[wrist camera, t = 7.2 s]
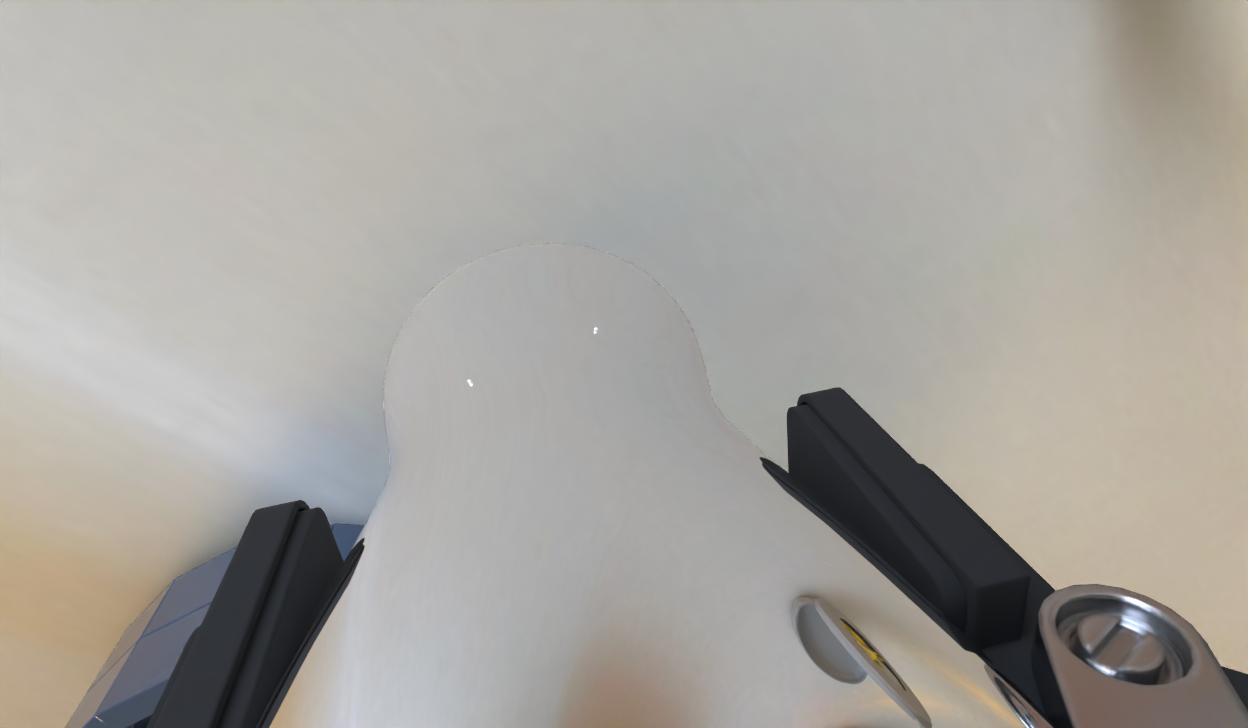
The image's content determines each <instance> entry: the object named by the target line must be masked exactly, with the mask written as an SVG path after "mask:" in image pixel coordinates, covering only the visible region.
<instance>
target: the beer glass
mask: <svg viewBox="0 0 1248 728" xmlns="http://www.w3.org/2000/svg"><path fill="white" fill-rule="evenodd" d="M383 413H384V423H385V431H386V438H387V444H388V451H389V460H390V464H389V471H388V475H387V479H386V482H385V485H384V488H383V491H382V493H381V495H380V497H379V499H378V501H377V503H376V505H375V506H374V508H373V510H372V512H371V514H370V516H369V518H368V520H367V522H366V524H365V526H364V528H363V530H362V531H361V533H360V535H359V537H358V538H357V540H356V542H355V544H354V545H353V547H352V549H351V551H350V552H349V554H348V556H347V558H346V560H345V561H344V563H343V565H342V567H341V568H340V570H339V572H338V574H337V575H336V577H335V579H334V581H333V582H332V584H331V586H330V588H329V590H328V591H327V593H326V595H325V597H324V599H323V600H322V602H321V604H320V606H319V608H318V610H317V611H316V613H315V615H314V617H313V619H312V621H311V623H310V624H309V626H308V628H307V630H306V632H305V634H304V635H303V637H302V639H301V641H300V643H299V645H298V647H297V648H296V650H295V652H294V654H293V656H292V658H291V659H290V661H289V663H288V665H287V667H286V669H285V671H284V672H283V674H282V676H281V678H280V680H279V682H278V683H277V685H276V687H275V689H274V691H273V693H272V695H271V696H270V698H269V700H268V702H267V704H266V706H265V707H264V709H263V711H262V713H261V715H260V717H259V719H258V721H257V723H256V725H255V727H254V728H1056V727H1055V726H1054V725H1053V724H1052V723H1051V722H1050V720H1049V719H1048V718H1047V717H1046V716H1045V715H1044V713H1043V712H1042V711H1041V710H1040V709H1039V708H1038V707H1037V705H1036V704H1035V703H1034V702H1033V701H1032V700H1031V699H1030V698H1029V697H1028V696H1027V695H1026V694H1025V693H1024V692H1023V691H1022V690H1021V689H1020V688H1019V687H1018V686H1017V685H1016V684H1015V683H1014V682H1013V681H1012V680H1011V679H1010V678H1009V677H1008V676H1007V675H1006V674H1005V673H1004V672H1003V671H1002V670H1001V669H1000V668H999V667H998V666H997V665H996V664H995V663H994V662H993V661H992V660H991V659H990V658H989V657H988V656H987V655H986V654H985V653H984V652H982V651H981V650H980V649H979V648H978V647H977V646H976V645H975V644H974V643H973V642H972V641H971V640H970V639H969V638H968V637H967V636H966V635H965V634H964V633H963V632H962V631H961V630H960V629H959V628H958V627H957V626H956V625H955V624H954V623H953V622H952V621H951V620H950V619H949V618H948V617H947V616H946V615H945V614H944V613H943V612H942V611H941V610H940V609H939V608H938V607H937V606H936V605H934V604H933V603H932V602H931V601H930V600H929V599H928V598H927V597H926V596H925V595H924V594H923V593H922V592H921V591H920V590H919V589H918V588H917V587H916V586H915V585H914V584H913V583H912V582H911V581H910V580H909V579H908V578H907V577H906V576H905V575H904V574H903V573H902V572H901V571H900V570H899V569H897V568H896V567H895V566H894V565H893V564H892V563H891V562H890V561H889V560H887V559H886V558H885V557H884V556H883V555H882V554H881V553H879V552H878V551H877V550H876V549H875V548H874V547H873V546H871V545H870V544H869V543H868V542H867V541H866V540H865V539H863V538H862V537H861V536H860V535H859V534H858V533H857V532H855V531H854V530H853V529H852V528H851V527H850V526H849V525H847V524H846V523H845V522H844V521H843V520H842V519H841V518H840V517H838V516H837V515H836V514H835V513H834V512H833V511H832V510H830V509H829V508H828V507H827V506H826V505H825V504H824V503H822V502H821V501H820V500H819V499H818V498H817V497H816V496H814V495H813V494H812V493H811V492H810V491H809V490H808V489H806V488H805V487H804V486H803V485H802V484H800V483H799V482H798V481H797V480H796V479H795V478H793V477H792V476H791V475H790V474H789V473H787V472H786V471H785V470H784V469H783V468H782V467H780V466H779V465H778V464H777V463H776V462H775V461H773V460H772V459H771V458H770V457H769V456H767V455H766V454H765V453H764V452H763V451H762V450H760V449H759V448H758V447H757V446H756V445H754V444H753V443H752V442H751V441H750V440H749V439H748V438H747V437H746V436H745V435H744V434H743V433H742V432H741V431H739V430H738V429H737V428H736V427H735V426H734V425H733V424H732V423H731V422H730V421H729V420H728V419H727V418H726V417H725V416H724V414H723V413H722V412H721V411H720V409H719V408H718V407H717V405H716V403H715V401H714V399H713V396H712V393H711V389H710V385H709V380H708V376H707V371H706V367H705V363H704V359H703V355H702V352H701V349H700V346H699V343H698V340H697V338H696V335H695V333H694V330H693V328H692V326H691V324H690V322H689V321H688V319H687V317H686V315H685V314H684V312H683V310H682V309H681V307H680V306H679V305H678V303H677V302H676V301H675V299H674V298H673V297H672V296H671V295H670V293H669V292H668V291H667V290H666V289H665V288H664V287H663V286H662V285H661V284H660V283H659V282H657V281H656V280H655V279H654V278H653V277H651V276H650V275H649V274H648V273H646V272H645V271H643V270H642V269H640V268H639V267H637V266H635V265H634V264H632V263H630V262H628V261H626V260H624V259H622V258H620V257H617V256H615V255H613V254H610V253H607V252H604V251H601V250H598V249H595V248H591V247H586V246H582V245H575V244H567V243H533V244H525V245H519V246H513V247H509V248H505V249H501V250H498V251H495V252H492V253H489V254H486V255H484V256H481V257H479V258H477V259H475V260H472V261H470V262H468V263H466V264H465V265H463V266H461V267H460V268H458V269H456V270H455V271H453V272H452V273H450V274H449V275H447V276H446V277H445V278H443V279H442V280H441V281H440V282H438V283H437V284H436V285H435V286H434V287H433V288H432V289H431V290H430V291H429V292H428V293H427V294H426V295H425V296H424V297H423V298H422V299H421V300H420V302H419V303H418V304H417V305H416V306H415V308H414V309H413V310H412V312H411V313H410V315H409V316H408V318H407V319H406V321H405V322H404V324H403V326H402V327H401V329H400V331H399V333H398V335H397V337H396V339H395V341H394V343H393V346H392V348H391V351H390V354H389V357H388V361H387V365H386V371H385V377H384V384H383Z"/></svg>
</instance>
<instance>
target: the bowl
mask: <svg viewBox="0 0 1248 728" xmlns="http://www.w3.org/2000/svg"><path fill="white" fill-rule="evenodd" d="M364 526H365V525H351V524H335V525H330V528H331V530H332V533H333V535H334V538H335V540H336V543H337V546H338V548H339V551H340V553H341V556H342V558H343V561H345V560H346V558H347V556H348V554H349V552H350V551H351V549H352V547H353V545H354V544H355V542H356V540H357V538H358V537H359V535H360V533H361V531H362V530H363V528H364ZM236 549H237V547H236V548H234V549H232V550H230V551H228V552H226V553H224V554H222V555H220V556H218V557H217V558H215V559H213V560H211V561H209V562H207V563H205V564H203V565H201V566H199V567H197V568H195V569H193V570H191V571H189V572H187V573H185V574H183V575H181V576H179V577H177V578H176V579H175V580H173V581H172V582H171V583H170V584H169V585H168V586H167V587H166V588H165V589H164V590H163V591H162V592H161V593H160V594H159V596H158V597H157V598H156V599H155V600H154V601H153V602H152V603H151V604H150V605H149V606H148V607H147V608H146V609H145V610H144V611H143V612H142V613H141V614H140V615H139V616H138V617H137V618H136V619H135V620H134V621H133V622H132V623H131V624H130V625H129V626H128V628H127V629H126V630H125V631H124V633H123V635H122V636H121V638H120V639H119V641H118V643H117V644H116V646H115V648H114V649H113V651H112V652H111V654H110V656H109V657H108V659H107V660H106V662H105V664H104V665H103V667H102V668H101V670H100V672H99V673H98V675H97V676H96V678H95V680H94V681H93V683H92V685H91V686H90V688H89V689H88V691H87V693H86V694H85V696H84V697H83V699H82V701H81V702H80V704H79V705H78V707H77V709H76V710H75V712H74V713H73V715H72V717H71V718H70V720H69V721H68V723H67V725H66V726H65V728H146V727H147V725H148V723H149V721H150V719H151V717H152V714H153V712H154V710H155V708H156V706H157V704H158V702H159V700H160V698H161V695H162V693H163V691H164V689H165V687H166V685H167V683H168V681H169V679H170V677H171V674H172V672H173V670H174V668H175V666H176V664H177V662H178V660H179V658H180V655H181V653H182V651H183V649H184V647H185V645H186V643H187V641H188V639H189V637H190V636H191V634H192V633H193V631H194V630H195V628H197V627H198V626H200V625H201V624H202V622H203V620H204V617H205V615H206V613H207V611H208V609H209V607H210V605H211V602H212V600H213V598H214V596H215V594H216V592H217V590H218V587H219V585H220V583H221V581H222V579H223V577H224V574H225V572H226V570H227V568H228V566H229V564H230V562H231V559H232V557H233V555H234V553H235V551H236Z"/></svg>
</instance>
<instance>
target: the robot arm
mask: <svg viewBox="0 0 1248 728" xmlns="http://www.w3.org/2000/svg"><path fill="white" fill-rule="evenodd" d="M787 437H788V467H789V474H790V475H791V476H792V477H793V478H795V479H796V480H797V481H798V482H799V483H800V484H802V485H803V486H804V487H805V488H806V489H808V490H809V491H810V492H811V493H812V494H813V495H814V496H816V497H817V498H818V499H819V500H820V501H821V502H822V503H824V504H825V505H826V506H827V507H828V508H829V509H830V510H832V511H833V512H834V513H835V514H836V515H837V516H838V517H840V518H841V519H842V520H843V521H844V522H845V523H846V524H847V525H849V526H850V527H851V528H852V529H853V530H854V531H855V532H857V533H858V534H859V535H860V536H861V537H862V538H863V539H865V540H866V541H867V542H868V543H869V544H870V545H871V546H873V547H874V548H875V549H876V550H877V551H878V552H879V553H881V554H882V555H883V556H884V557H885V558H886V559H887V560H889V561H890V562H891V563H892V564H893V565H894V566H895V567H896V568H897V569H899V570H900V571H901V572H902V573H903V574H904V575H905V576H906V577H907V578H908V579H909V580H910V581H911V582H912V583H913V584H914V585H915V586H916V587H917V588H918V589H919V590H920V591H921V592H922V593H923V594H924V595H925V596H926V597H927V598H928V599H929V600H930V601H931V602H932V603H933V604H934V605H936V606H937V607H938V608H939V609H940V610H941V611H942V612H943V613H944V614H945V615H946V616H947V617H948V618H949V619H950V620H951V621H952V622H953V623H954V624H955V625H956V626H957V627H958V628H959V629H960V630H961V631H962V632H963V633H964V634H965V635H966V636H967V637H968V638H969V639H970V640H971V641H972V642H973V643H974V644H975V645H976V646H977V647H978V648H979V649H980V650H981V651H982V652H984V653H985V654H986V655H987V656H988V657H989V658H990V659H991V660H992V661H993V662H994V663H995V664H996V665H997V666H998V667H999V668H1000V669H1001V670H1002V671H1003V672H1004V673H1005V674H1006V675H1007V676H1008V677H1009V678H1010V679H1011V680H1012V681H1013V682H1014V683H1015V684H1016V685H1017V686H1018V687H1019V688H1020V689H1021V690H1022V691H1023V692H1024V693H1025V694H1026V695H1027V696H1028V697H1029V698H1030V699H1031V700H1032V701H1033V702H1034V703H1035V704H1036V705H1037V707H1038V708H1039V709H1040V710H1041V711H1042V712H1043V713H1044V715H1045V716H1046V717H1047V718H1048V719H1049V720H1050V722H1051V723H1052V724H1053V725H1054V726H1055V727H1056V728H1248V674H1245V673H1242V672H1238V671H1235V670H1232V669H1229V668H1225V667H1222V666H1220V664H1219V662H1218V661H1217V659H1216V657H1215V656H1214V654H1213V652H1212V651H1211V649H1210V647H1209V646H1208V644H1207V643H1206V641H1205V640H1204V639H1203V638H1202V636H1201V635H1200V634H1199V633H1198V632H1197V630H1196V629H1195V628H1194V627H1193V625H1191V624H1190V623H1189V622H1188V621H1186V620H1185V619H1184V618H1182V617H1181V616H1180V615H1178V614H1177V613H1176V612H1175V611H1173V610H1172V609H1170V608H1169V607H1167V606H1165V605H1163V604H1161V603H1159V602H1157V601H1155V600H1153V599H1151V598H1149V597H1147V596H1145V595H1141V594H1138V593H1135V592H1132V591H1129V590H1126V589H1123V588H1119V587H1112V586H1106V585H1099V584H1085V585H1072V586H1069V587H1066V588H1063V589H1060V590H1056V591H1055V590H1054V589H1053V588H1052V587H1051V586H1050V585H1049V584H1048V583H1047V582H1046V581H1045V580H1044V579H1043V578H1042V577H1041V576H1040V575H1039V574H1038V573H1037V572H1036V571H1035V570H1034V569H1033V568H1032V567H1031V566H1030V565H1029V564H1028V563H1027V562H1026V561H1025V560H1024V559H1023V558H1022V557H1021V556H1019V555H1018V554H1017V553H1016V552H1015V551H1014V550H1013V549H1012V548H1011V547H1010V546H1009V545H1008V544H1007V543H1006V542H1005V541H1004V540H1003V539H1002V538H1001V537H1000V536H999V535H998V534H997V533H996V532H995V531H994V530H993V529H992V528H991V527H990V526H989V525H988V524H987V523H986V522H985V521H984V520H982V519H981V518H980V517H979V516H978V515H977V514H976V513H975V512H974V511H973V510H972V509H971V508H970V507H969V506H968V505H967V504H966V503H965V502H964V501H963V500H962V499H961V498H960V497H959V496H958V495H957V494H956V493H955V492H954V491H953V490H952V489H951V488H950V487H949V486H948V485H947V484H945V483H944V482H943V481H942V480H941V479H940V478H939V477H938V476H937V475H936V474H935V473H934V472H933V471H932V470H931V469H929V468H928V467H927V466H925V465H924V464H919V463H917V462H916V461H915V460H914V459H913V458H912V457H911V456H910V455H909V454H908V453H907V452H906V451H905V450H904V449H903V448H902V447H901V446H900V445H899V444H898V443H897V442H896V441H895V440H894V439H893V438H892V437H891V436H890V435H889V434H888V433H887V432H886V431H885V430H884V429H883V428H882V427H881V426H880V425H879V424H878V423H877V422H876V421H875V420H874V419H873V418H871V417H870V416H869V415H868V414H867V413H866V412H865V411H864V410H863V409H862V408H861V407H860V406H859V405H858V404H857V403H856V402H855V401H854V400H853V399H852V398H851V397H850V396H849V395H848V394H847V393H846V392H845V391H844V390H843V389H841V388H832V389H828V390H823V391H818V392H813V393H809V394H804V395H801V396H800V397H799V399H798V403H797V406H795V407H791V408H789V409H788V412H787ZM343 563H344V561H343V558H342V556H341V553H340V551H339V548H338V546H337V543H336V540H335V538H334V535H333V533H332V530H331V528H330V525H329V523H328V520H327V517H326V515H325V513H324V511H323V510H322V509H321V508H319V507H318V508H313V509H310V508H309V506H308V505H307V504H306V503H305V502H304V501H302V500H299V501H294V502H289V503H285V504H280V505H275V506H270V507H266V508H261V509H258V510H255V512H254V513H253V515H252V516H251V519H250V521H249V523H248V525H247V527H246V529H245V531H244V534H243V536H242V538H241V540H240V542H239V544H238V546H237V549H236V551H235V553H234V555H233V557H232V559H231V562H230V564H229V566H228V568H227V570H226V572H225V574H224V577H223V579H222V581H221V583H220V585H219V587H218V590H217V592H216V594H215V596H214V598H213V600H212V602H211V605H210V607H209V609H208V611H207V613H206V615H205V617H204V620H203V622H202V624H201V625H200V626H198V627H197V628H195V630H194V631H193V633H192V634H191V636H190V637H189V639H188V641H187V643H186V645H185V647H184V649H183V651H182V653H181V655H180V658H179V660H178V662H177V664H176V666H175V668H174V670H173V672H172V674H171V677H170V679H169V681H168V683H167V685H166V687H165V689H164V691H163V693H162V695H161V698H160V700H159V702H158V704H157V706H156V708H155V710H154V712H153V714H152V717H151V719H150V721H149V723H148V725H147V727H146V728H254V727H255V725H256V723H257V721H258V719H259V717H260V715H261V713H262V711H263V709H264V707H265V706H266V704H267V702H268V700H269V698H270V696H271V695H272V693H273V691H274V689H275V687H276V685H277V683H278V682H279V680H280V678H281V676H282V674H283V672H284V671H285V669H286V667H287V665H288V663H289V661H290V659H291V658H292V656H293V654H294V652H295V650H296V648H297V647H298V645H299V643H300V641H301V639H302V637H303V635H304V634H305V632H306V630H307V628H308V626H309V624H310V623H311V621H312V619H313V617H314V615H315V613H316V611H317V610H318V608H319V606H320V604H321V602H322V600H323V599H324V597H325V595H326V593H327V591H328V590H329V588H330V586H331V584H332V582H333V581H334V579H335V577H336V575H337V574H338V572H339V570H340V568H341V567H342V565H343Z"/></svg>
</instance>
